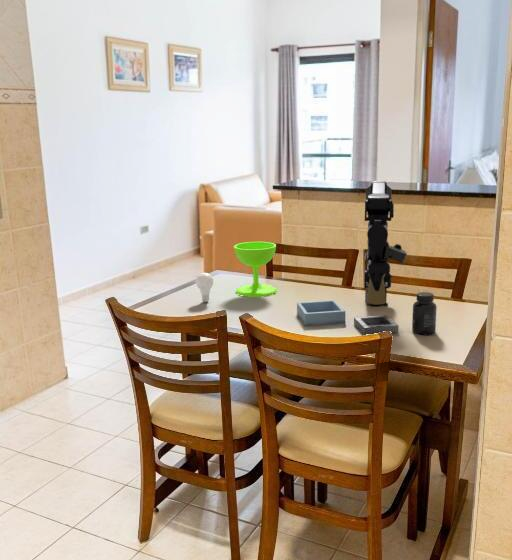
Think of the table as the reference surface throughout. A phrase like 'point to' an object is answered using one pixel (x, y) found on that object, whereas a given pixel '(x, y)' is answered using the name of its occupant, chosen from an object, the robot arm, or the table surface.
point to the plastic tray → (320, 313)
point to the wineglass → (255, 266)
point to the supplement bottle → (424, 314)
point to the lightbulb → (204, 285)
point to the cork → (376, 293)
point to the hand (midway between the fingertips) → (376, 288)
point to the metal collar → (375, 324)
